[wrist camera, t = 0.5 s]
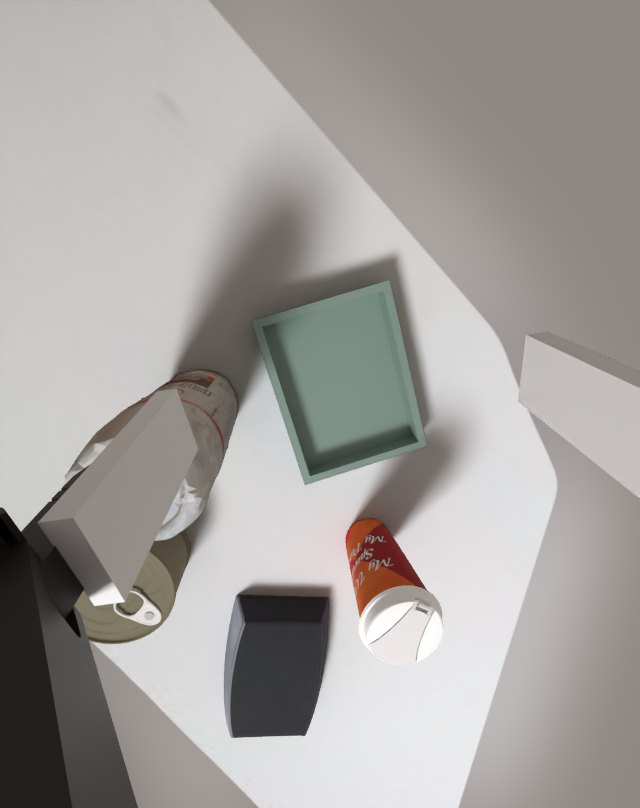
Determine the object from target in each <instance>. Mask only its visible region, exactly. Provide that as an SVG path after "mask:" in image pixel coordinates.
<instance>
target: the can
mask: <svg viewBox="0 0 640 808" xmlns="http://www.w3.org/2000/svg"><path fill="white" fill-rule="evenodd" d="M189 554H190V548H189V542H188V538H187V536H186V533H185V532H184V530H183V531H181V532H179V533H178V534H177V535H175V536H174V537H172V538H169V539H166V540H159V541H154V543H153V545H152V547H151V549H150V551H149V553H148V555H147V557H146V559H145V562H144V564H143V566H142V568H141V570H140V572H139V574H138V576H137V578H136V580H135V582H134V585H133V587H132V589H131V591H130V593H129V595H128V597H127V599H126V601H125V602H121V603H113V604H106V605H99V606H94V605H93V603H92V602H91V600H90V599H89V597H88V596H87V594H86V593H85V592H84V590H83V592H82V594H81V595H80V597H79V599H78V600H77V602H76V603H75V605H74V606H75V607H76V609H77V610H78V611H79V613H80V614H81V617H82V620H83V623H84V627H85V630H86V634H87V637H88V640H89V641H92V642H96V643H103V644H121V643H127V642H131V641H135V640H138V639H141V638H143V637H145V636H147V635H149V634H150V633H152V632H154V631H155V630H156V629H157V628H159V627H160V626H161V625H162V624H163V623H164V621H165V620H166V619H167V617H168V616H169V614H170V612H171V610H172V608H173V605H174V602H175V597H176V592H177V589H178V587H179V584H180V581H181V579H182V576H183V573H184V570H185V568H186V566H187V563H188V560H189Z"/></svg>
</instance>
